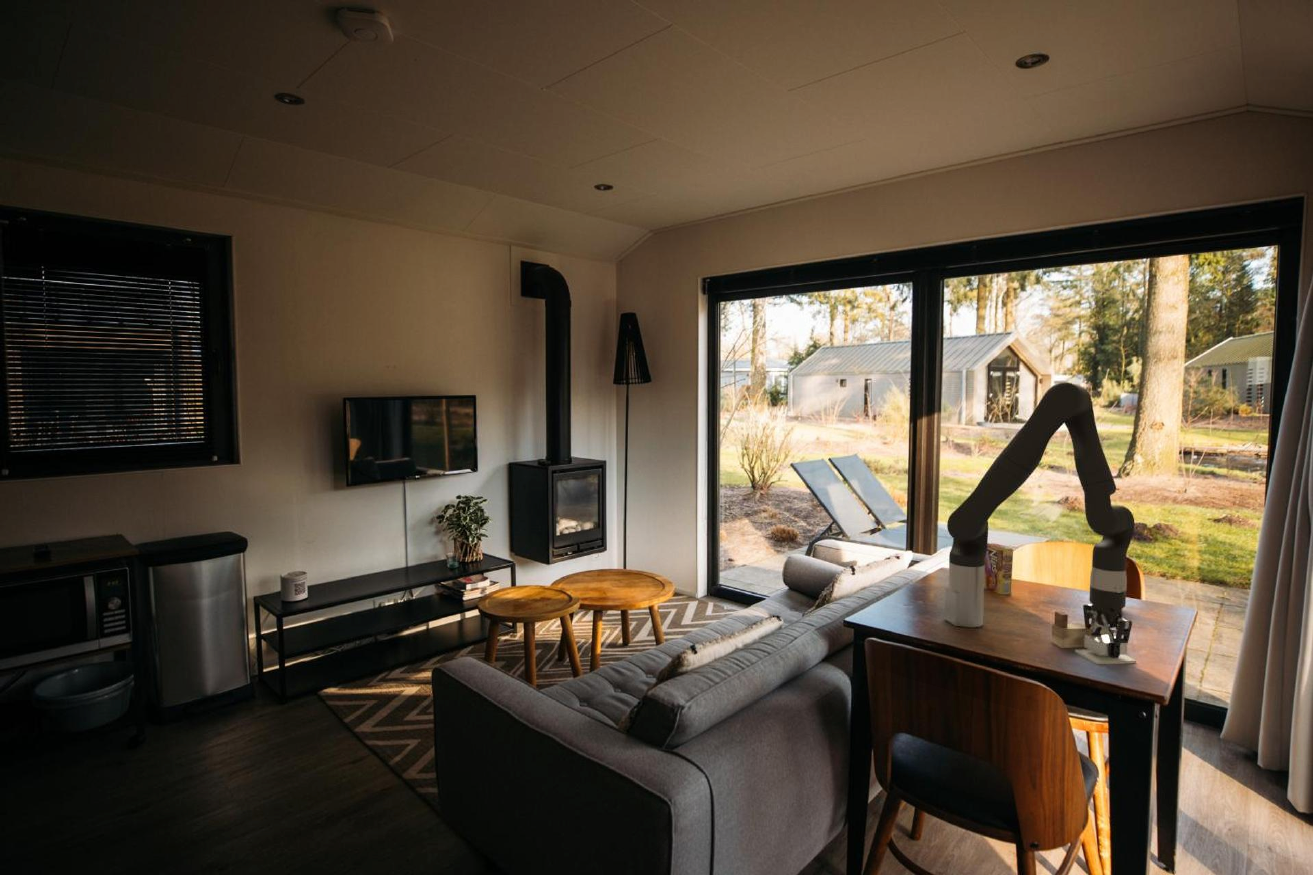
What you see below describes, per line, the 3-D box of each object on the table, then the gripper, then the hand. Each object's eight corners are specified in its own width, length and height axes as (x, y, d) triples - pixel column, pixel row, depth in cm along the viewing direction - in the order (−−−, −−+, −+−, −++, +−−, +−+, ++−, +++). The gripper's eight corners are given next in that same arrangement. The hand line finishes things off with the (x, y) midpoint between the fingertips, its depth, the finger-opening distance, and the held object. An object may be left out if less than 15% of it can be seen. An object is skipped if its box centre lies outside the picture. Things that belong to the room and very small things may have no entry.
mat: (1097, 664, 168) (1097, 661, 168) (1075, 651, 176) (1075, 649, 176) (1136, 662, 169) (1136, 660, 169) (1112, 650, 177) (1112, 648, 177)
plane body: (1061, 647, 179) (1062, 615, 178) (1051, 642, 183) (1052, 610, 182) (1108, 646, 180) (1110, 614, 179) (1097, 640, 184) (1099, 609, 183)
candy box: (1012, 594, 226) (1014, 548, 225) (1001, 595, 225) (1002, 549, 224) (993, 587, 234) (994, 542, 233) (982, 587, 234) (983, 543, 233)
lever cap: (1099, 655, 169) (1100, 643, 169) (1084, 646, 175) (1084, 635, 175) (1126, 654, 170) (1127, 642, 170) (1110, 646, 176) (1110, 634, 175)
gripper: (1073, 578, 178) (1071, 642, 179) (1115, 594, 164) (1111, 664, 165) (1101, 577, 179) (1098, 641, 180) (1144, 594, 164) (1141, 663, 166)
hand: (1104, 652), depth 172 cm, fingers closed on lever cap, 5 cm apart
